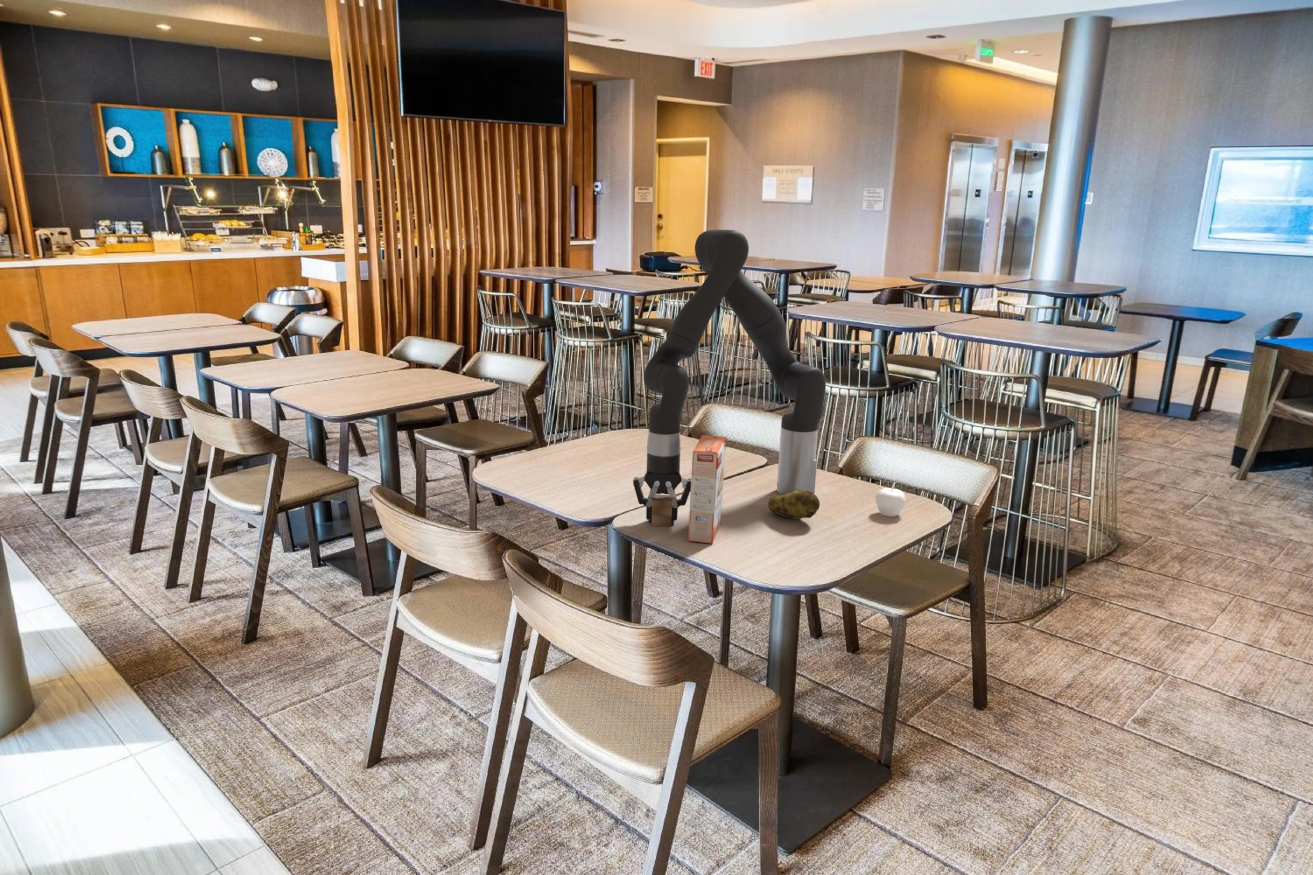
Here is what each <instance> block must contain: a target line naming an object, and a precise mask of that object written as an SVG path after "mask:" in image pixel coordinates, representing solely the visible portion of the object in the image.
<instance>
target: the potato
mask: <svg viewBox="0 0 1313 875" xmlns="http://www.w3.org/2000/svg"><path fill="white" fill-rule="evenodd" d="M820 505H821V504H820V500H819V498H818V496H817V495H816V494H815V493H812V492H810V491H804V490H797V491H793V492H791V493H788V494H785V495H781V494H778V495H774V496H772V497H770V498H769V500H768V503H767V506H768V509H769V511H771V513H773V514H775V515H777V516H783V517H785V518H788V519H793V520H801V519H811V518H812V517H813V516H814V515H816V514H817V512H818V511H819V509H820Z"/></svg>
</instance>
